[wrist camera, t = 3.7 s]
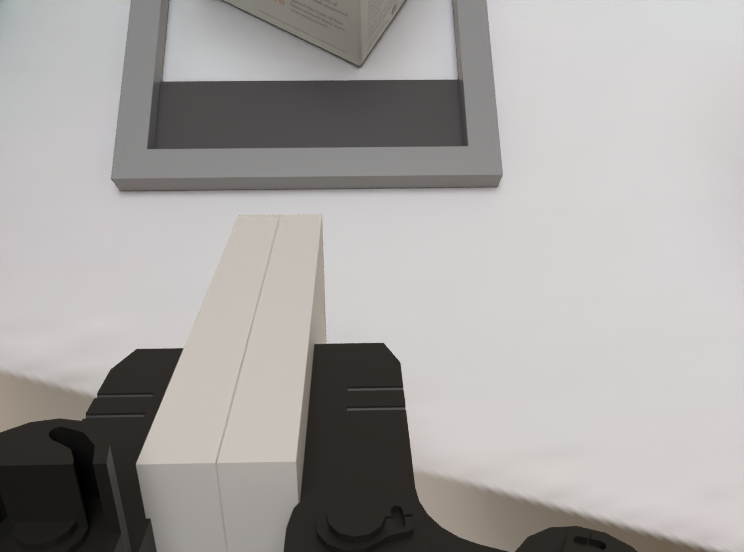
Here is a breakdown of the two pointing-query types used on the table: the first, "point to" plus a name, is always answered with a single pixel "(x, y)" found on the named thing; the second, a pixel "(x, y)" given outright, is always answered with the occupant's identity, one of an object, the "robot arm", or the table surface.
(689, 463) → the table surface
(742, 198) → the table surface
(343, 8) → the small box
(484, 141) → the grey square frame
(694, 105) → the table surface
